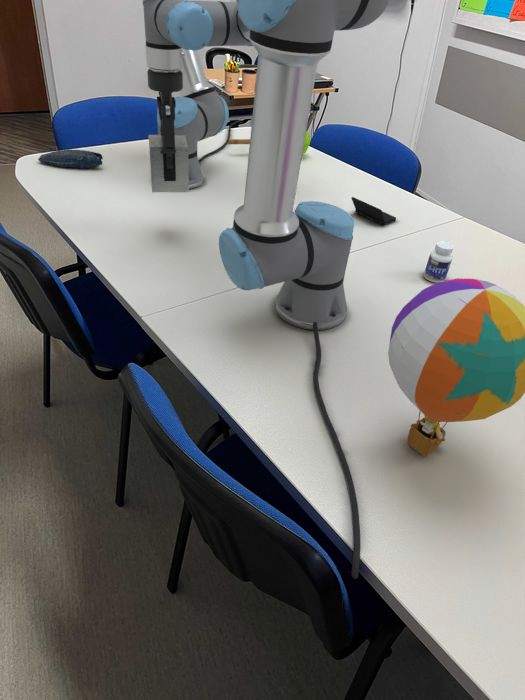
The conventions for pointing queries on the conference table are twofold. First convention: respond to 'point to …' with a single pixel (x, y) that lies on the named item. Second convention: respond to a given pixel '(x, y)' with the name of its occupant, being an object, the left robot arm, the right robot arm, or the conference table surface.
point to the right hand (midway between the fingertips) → (168, 173)
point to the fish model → (72, 158)
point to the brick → (158, 167)
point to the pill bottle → (439, 262)
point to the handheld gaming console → (372, 212)
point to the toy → (458, 355)
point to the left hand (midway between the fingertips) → (294, 101)
